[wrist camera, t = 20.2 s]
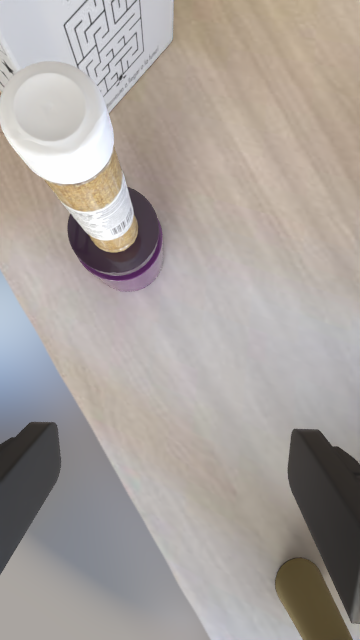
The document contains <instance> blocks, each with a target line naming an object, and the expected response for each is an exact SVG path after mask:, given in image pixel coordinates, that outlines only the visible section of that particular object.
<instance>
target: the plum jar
mask: <svg viewBox="0 0 360 640" xmlns="http://www.w3.org/2000/svg"><path fill="white" fill-rule="evenodd" d="M127 188H128V192H129V196H130V199H131V203H132V207H133V212H134V215H135V217H136V219H137V223H138V234H137V237H136V239H135V241H134V243H133V244H132V245H131V246H130V247H129V248H127V249H126V250H124V251H121V252H106V251H104V250H102V249H100V248H99V247H97V246H96V245H95V244H94V242H93V241H92V240H91V238H90V236H89V234H87V233H86V232H85V231H84V229H83V228H82V227H81V226H80V224H79V223H78V222H77V221H76V219H75V218H74V217H73V216H72V215H71V213H70V216H69V220H68V238H69V241H70V244H71V247H72V249H73V250H74V252H75V254H76V255H77V257H78V258H79V260H80V262H81V263H82V264H83V266H84V267H85V268H86V269H87V270H88V271H90V272H91V273H92V274H94V275H95V276H96V277H97V278H99V279H100V280H101V281H102V282H104V283H105V284H106V285H108V286H109V287H111V288H113V289H116V290H119V291H125V292H130V291H136V290H140V289H142V288H145V287H146V286H148V285H149V284H151V283H152V282H153V281H154V280H155V279H156V277H157V276H158V274H159V273H160V270H161V268H162V264H163V236H162V229H161V225H160V222H159V220H158V218H157V215H156V213H155V210H154V208H153V207H152V205H151V204H150V202H149V201H148V200H147V199H146V198H145V197H144V196H143V195H142V194H140V193H139V192H137V191H136V190H134V189H131V188H129V187H127Z"/></svg>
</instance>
